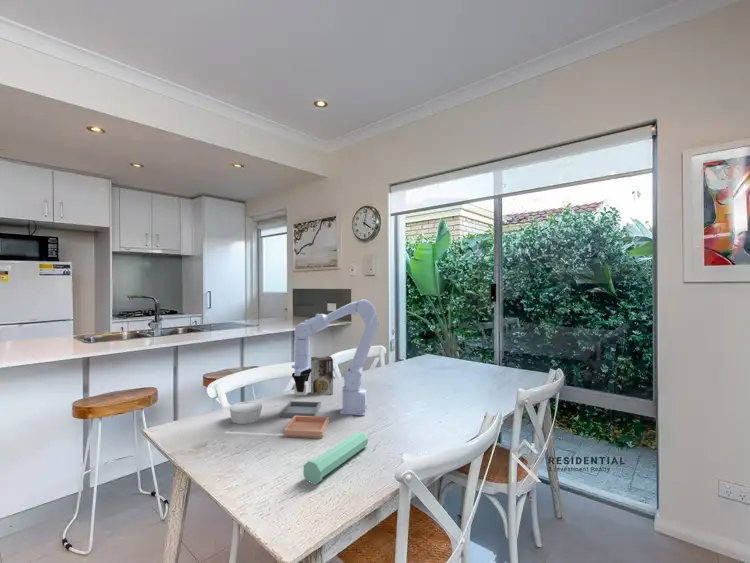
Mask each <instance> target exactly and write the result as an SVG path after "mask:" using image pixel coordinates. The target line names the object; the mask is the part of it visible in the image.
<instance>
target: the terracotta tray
mask: <svg viewBox="0 0 750 563" xmlns="http://www.w3.org/2000/svg"><path fill="white" fill-rule="evenodd" d="M329 423H330V416H318V415H316V416H294V417H291V420H290V421H289V423H288V424H287V425H286V426H285V428H284V429H283V437H285V438H303V439H304V438H305V439H306V438H307V439H323V437H324V433H325V431H326V429H327V427H328V425H329Z"/></svg>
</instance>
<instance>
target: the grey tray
mask: <svg viewBox="0 0 750 563" xmlns="http://www.w3.org/2000/svg"><path fill="white" fill-rule="evenodd" d="M321 406H322V402H321V401H302V400H301V401H300V400H289V402H287V404H286V405H285V406H284V407H283V408H282V409H281V411H280V413H279V415H280V416H279V417H280V418H293V417H294V416H317V414H318V412H319V410H320V409H321Z"/></svg>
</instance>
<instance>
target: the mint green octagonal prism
mask: <svg viewBox="0 0 750 563" xmlns="http://www.w3.org/2000/svg"><path fill="white" fill-rule="evenodd" d="M368 438H369V437H368V435H367V434H366V433H365V432H361V431H357V432H356V433H355V434H353V435H351V436H350V437H348V438H346V439H345V440H343V441H342V442H340V443H338V444H337V445H335V446H334V447H332V448H331V449H329V450H328V451H326V452H324V453H322V454H321V455H319V456H318V457H316V458H314V459H313V460H312V459H309V460H308V461H307V462H306V463H305V464H304V465H303V470H302V474H303V477H304V479H305V481H306V482H307V481H310V482H312V483H311V484H313V483H315V484H316V485H318V484H319V482H321V481H322V480H323V478H325V477H326V476H327V475H329V474H330V473H331V472H332V471H335V469H337V468H338V467H340V466H341V465H343V464H344V463H345V462H347V461H348V460H349V459H351V458H352V457H353V456H354V455H356V454H357V453H359V452H360V451H362V450H363V449H365V448H366V447H367V446H368V441H369V439H368ZM310 482H309V483H310ZM315 484H314V485H315Z"/></svg>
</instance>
